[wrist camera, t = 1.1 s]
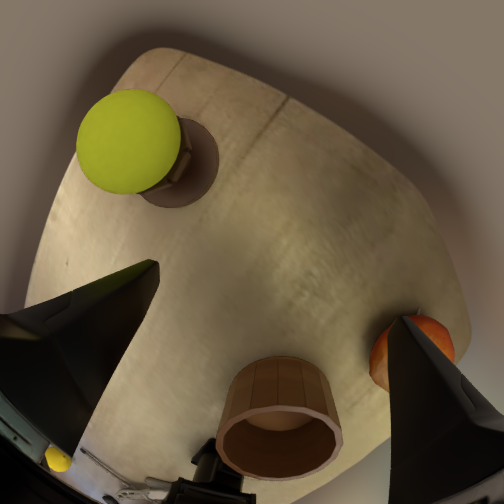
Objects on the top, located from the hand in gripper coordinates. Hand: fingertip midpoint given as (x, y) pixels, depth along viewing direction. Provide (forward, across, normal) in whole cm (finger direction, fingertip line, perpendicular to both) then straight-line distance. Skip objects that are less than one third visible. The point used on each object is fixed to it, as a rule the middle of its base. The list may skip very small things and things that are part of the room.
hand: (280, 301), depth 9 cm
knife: (-6, +9, +45) cm, 46 cm away
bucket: (+8, -4, +19) cm, 21 cm away
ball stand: (+15, +10, 0) cm, 18 cm away
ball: (+7, +10, -3) cm, 13 cm away
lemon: (-4, +30, +48) cm, 56 cm away
